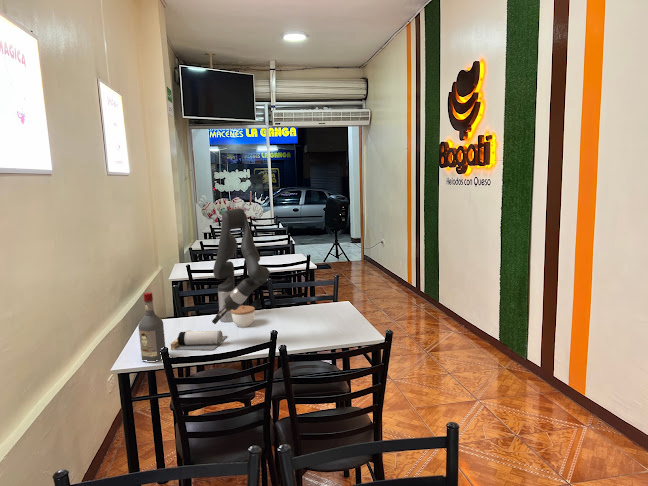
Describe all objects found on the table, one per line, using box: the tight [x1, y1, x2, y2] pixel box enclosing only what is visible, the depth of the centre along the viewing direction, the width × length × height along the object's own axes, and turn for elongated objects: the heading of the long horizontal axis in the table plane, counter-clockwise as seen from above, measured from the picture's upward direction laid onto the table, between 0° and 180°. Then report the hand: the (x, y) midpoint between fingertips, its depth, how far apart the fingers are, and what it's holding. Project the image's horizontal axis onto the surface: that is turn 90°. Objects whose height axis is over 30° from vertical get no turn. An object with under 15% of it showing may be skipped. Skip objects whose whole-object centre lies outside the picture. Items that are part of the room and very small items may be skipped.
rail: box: [170, 330, 192, 351], centre depth 216 cm, size 18×2×3 cm, turn 172°
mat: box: [174, 335, 228, 352], centre depth 215 cm, size 18×19×1 cm
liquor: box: [137, 292, 166, 361], centre depth 196 cm, size 9×9×30 cm
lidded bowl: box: [231, 304, 256, 328], centre depth 239 cm, size 13×13×11 cm
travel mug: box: [176, 330, 224, 345], centre depth 212 cm, size 6×7×20 cm
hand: (213, 322), depth 212 cm, fingers closed
